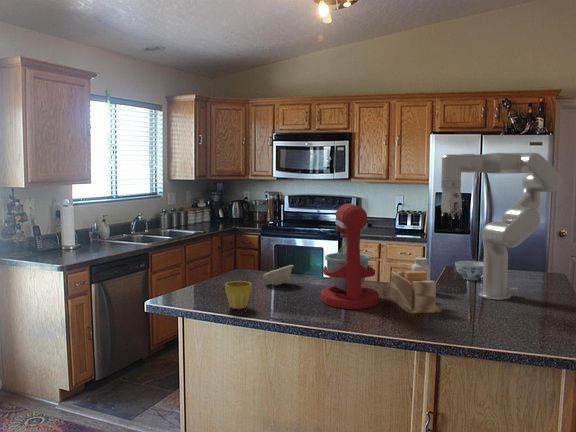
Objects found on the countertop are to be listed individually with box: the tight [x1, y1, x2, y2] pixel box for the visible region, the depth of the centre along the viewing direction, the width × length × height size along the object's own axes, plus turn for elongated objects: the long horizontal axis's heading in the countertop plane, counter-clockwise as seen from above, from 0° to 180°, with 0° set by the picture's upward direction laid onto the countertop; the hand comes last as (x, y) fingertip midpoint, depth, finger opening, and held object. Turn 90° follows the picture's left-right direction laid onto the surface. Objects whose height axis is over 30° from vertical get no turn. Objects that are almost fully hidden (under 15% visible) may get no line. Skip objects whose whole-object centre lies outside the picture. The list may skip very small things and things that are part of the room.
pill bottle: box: [411, 257, 431, 281], centre depth 229 cm, size 8×8×15 cm
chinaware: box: [454, 260, 484, 281], centre depth 256 cm, size 15×15×8 cm
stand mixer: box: [320, 203, 380, 310], centre depth 215 cm, size 24×32×40 cm
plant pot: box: [224, 280, 253, 308], centre depth 204 cm, size 10×10×10 cm
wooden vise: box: [389, 270, 443, 314], centre depth 208 cm, size 13×23×12 cm, turn 6°
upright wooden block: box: [403, 270, 427, 298], centre depth 207 cm, size 8×3×10 cm, turn 97°
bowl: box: [262, 264, 294, 286], centre depth 245 cm, size 15×14×10 cm
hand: (450, 227), depth 212 cm, fingers open, 9 cm apart
